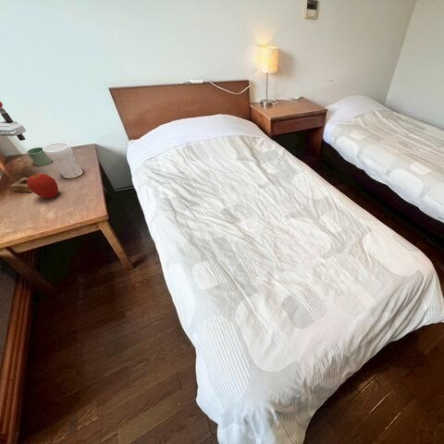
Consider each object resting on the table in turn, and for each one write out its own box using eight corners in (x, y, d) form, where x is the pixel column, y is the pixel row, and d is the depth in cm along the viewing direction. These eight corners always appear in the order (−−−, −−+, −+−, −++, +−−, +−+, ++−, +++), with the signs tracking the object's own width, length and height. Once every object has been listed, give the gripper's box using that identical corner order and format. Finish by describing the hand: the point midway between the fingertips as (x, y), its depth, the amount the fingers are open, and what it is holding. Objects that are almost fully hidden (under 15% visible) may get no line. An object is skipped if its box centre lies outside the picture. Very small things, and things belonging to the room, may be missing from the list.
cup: (59, 173, 143) (40, 145, 131) (83, 167, 149) (66, 140, 137) (63, 182, 137) (43, 153, 125) (87, 175, 143) (70, 148, 131)
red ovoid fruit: (63, 188, 133) (47, 165, 124) (64, 198, 128) (47, 175, 118) (38, 194, 128) (20, 171, 119) (38, 204, 123) (19, 181, 113)
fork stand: (15, 192, 128) (10, 185, 125) (28, 183, 134) (22, 177, 131) (32, 192, 129) (27, 186, 126) (43, 184, 135) (38, 178, 132)
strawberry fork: (16, 140, 133) (-13, 100, 119) (21, 137, 136) (-7, 98, 122) (23, 141, 134) (-6, 101, 120) (28, 138, 136) (1, 99, 122)
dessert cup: (31, 164, 147) (22, 152, 142) (45, 158, 153) (37, 146, 147) (42, 167, 146) (33, 155, 140) (56, 161, 152) (48, 149, 146)
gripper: (6, 128, 118) (29, 118, 128) (-40, 125, 116) (-13, 114, 127) (15, 141, 122) (37, 129, 132) (-29, 138, 121) (-4, 127, 131)
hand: (12, 122), depth 129 cm, fingers closed on strawberry fork, 2 cm apart
